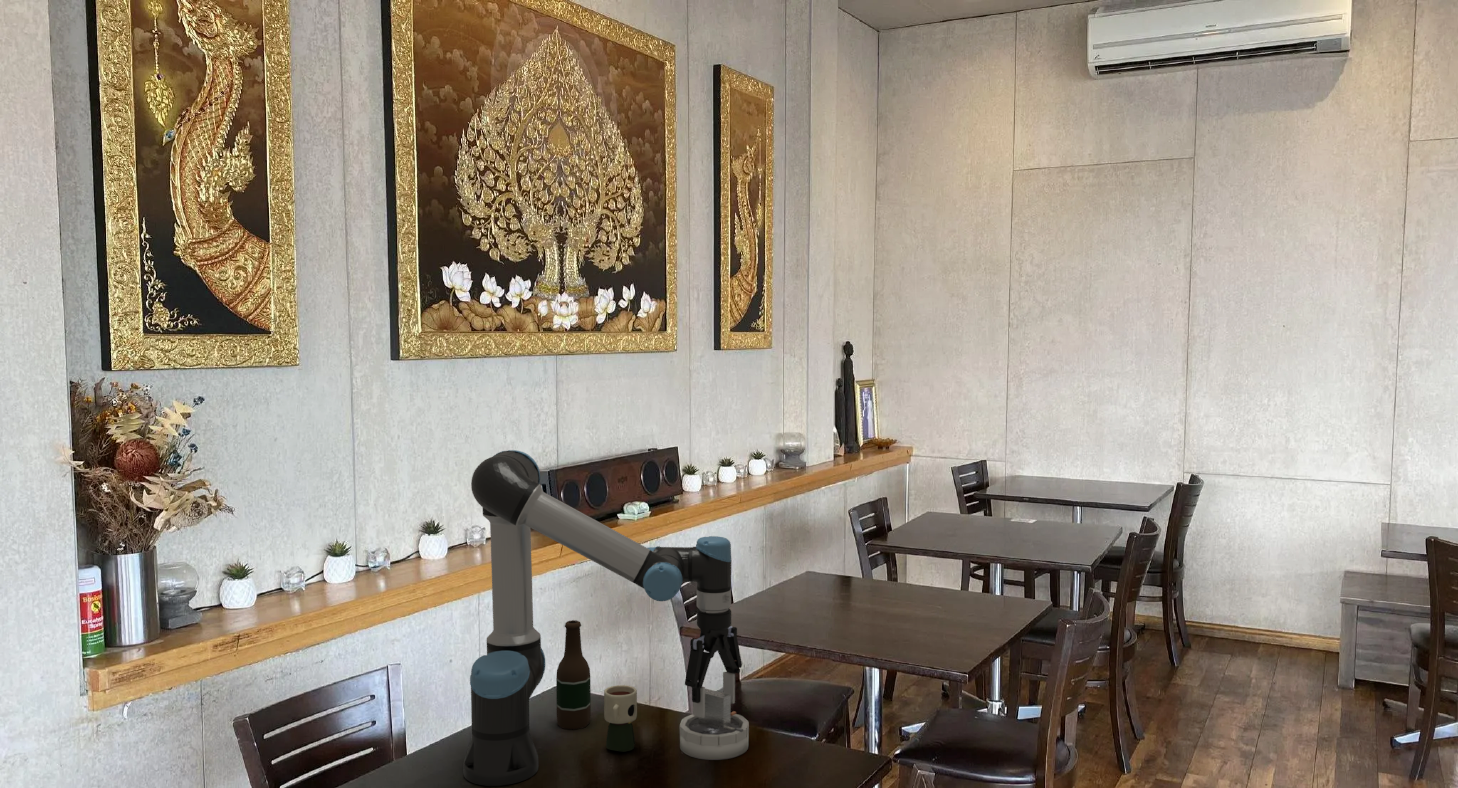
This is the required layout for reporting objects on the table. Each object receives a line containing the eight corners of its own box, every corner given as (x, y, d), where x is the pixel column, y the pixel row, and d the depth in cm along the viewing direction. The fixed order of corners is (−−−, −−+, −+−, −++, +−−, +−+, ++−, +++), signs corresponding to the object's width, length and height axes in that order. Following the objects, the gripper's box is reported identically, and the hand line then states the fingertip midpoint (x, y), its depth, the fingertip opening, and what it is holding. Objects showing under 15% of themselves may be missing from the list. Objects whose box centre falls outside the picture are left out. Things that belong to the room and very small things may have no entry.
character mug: (631, 759, 219) (631, 699, 218) (598, 758, 220) (598, 698, 219) (642, 739, 230) (641, 682, 229) (610, 738, 230) (610, 681, 230)
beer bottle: (556, 718, 242) (555, 617, 241) (589, 716, 244) (589, 616, 242) (557, 731, 235) (556, 627, 233) (591, 728, 236) (590, 625, 235)
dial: (678, 733, 225) (678, 694, 224) (709, 718, 234) (709, 681, 233) (719, 745, 218) (719, 705, 218) (749, 729, 227) (749, 691, 227)
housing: (665, 748, 225) (665, 724, 224) (708, 727, 237) (708, 704, 236) (721, 765, 216) (721, 740, 215) (762, 742, 228) (762, 718, 227)
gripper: (695, 623, 213) (695, 728, 214) (758, 600, 231) (758, 697, 233) (667, 617, 218) (667, 720, 219) (731, 595, 236) (731, 690, 237)
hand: (714, 708), depth 226 cm, fingers open, 10 cm apart
